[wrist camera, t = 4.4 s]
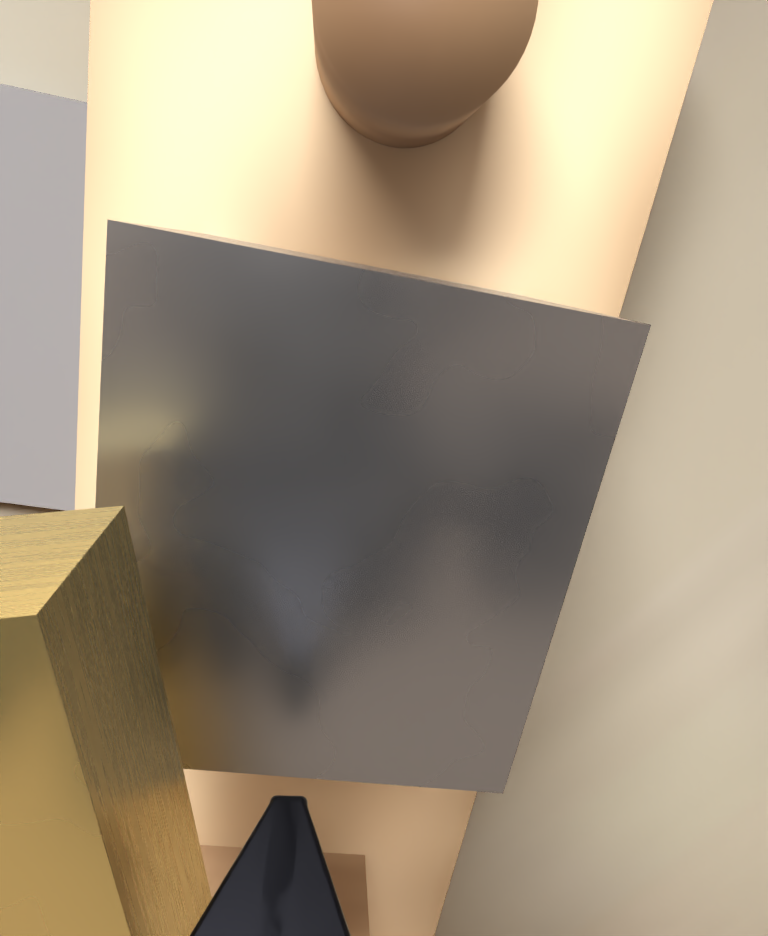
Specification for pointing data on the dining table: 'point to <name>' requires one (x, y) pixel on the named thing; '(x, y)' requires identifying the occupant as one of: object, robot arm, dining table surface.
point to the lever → (87, 741)
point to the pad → (40, 294)
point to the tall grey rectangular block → (349, 500)
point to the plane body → (379, 239)
